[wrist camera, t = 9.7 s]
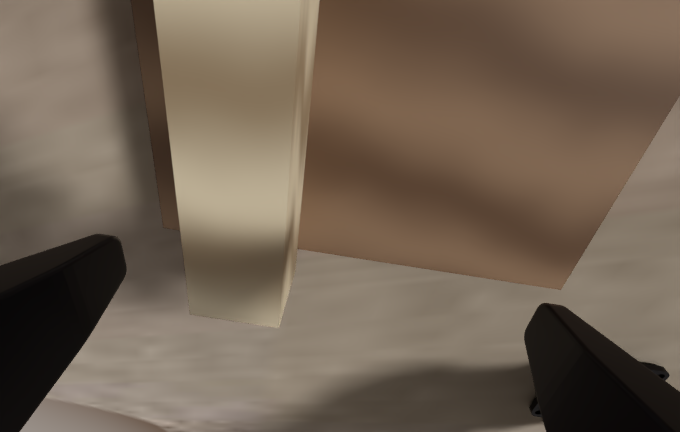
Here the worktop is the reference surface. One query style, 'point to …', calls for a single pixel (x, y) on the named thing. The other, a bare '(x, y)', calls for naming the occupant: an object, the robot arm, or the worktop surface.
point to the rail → (238, 146)
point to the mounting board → (465, 127)
